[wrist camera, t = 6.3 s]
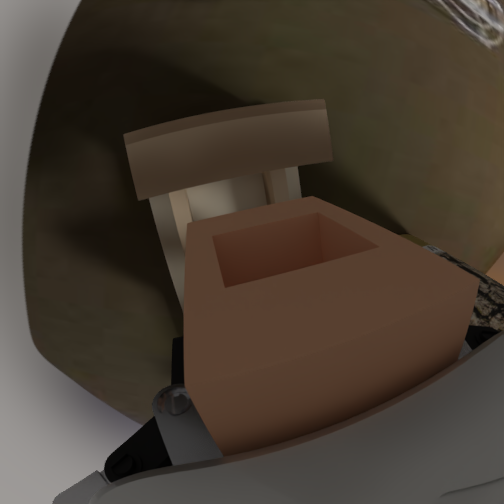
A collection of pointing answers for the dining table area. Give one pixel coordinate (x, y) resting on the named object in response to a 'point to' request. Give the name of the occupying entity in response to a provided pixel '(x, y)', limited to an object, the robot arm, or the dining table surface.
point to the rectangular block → (311, 319)
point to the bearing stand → (223, 166)
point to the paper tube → (488, 296)
